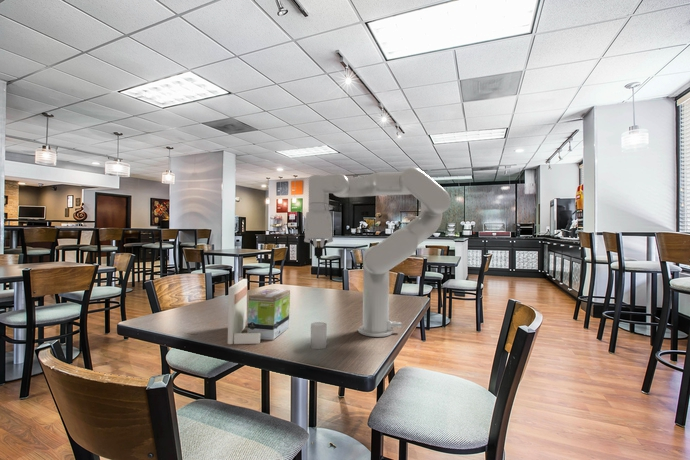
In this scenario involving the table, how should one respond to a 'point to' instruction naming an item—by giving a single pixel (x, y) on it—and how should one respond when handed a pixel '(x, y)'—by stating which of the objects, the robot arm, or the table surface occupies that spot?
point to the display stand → (239, 315)
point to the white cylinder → (318, 335)
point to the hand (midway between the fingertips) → (318, 257)
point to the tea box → (269, 313)
